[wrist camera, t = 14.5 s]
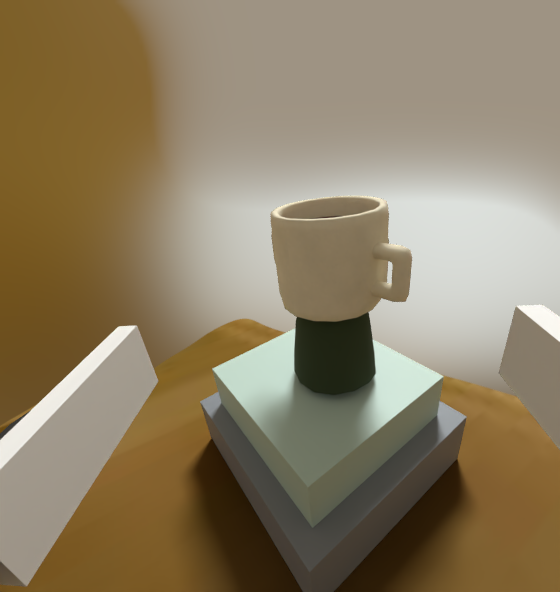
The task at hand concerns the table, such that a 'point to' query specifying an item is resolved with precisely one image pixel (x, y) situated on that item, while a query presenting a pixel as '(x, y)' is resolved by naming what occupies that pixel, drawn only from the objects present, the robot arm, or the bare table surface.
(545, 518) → the table surface
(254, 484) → the tower base
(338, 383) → the character mug
